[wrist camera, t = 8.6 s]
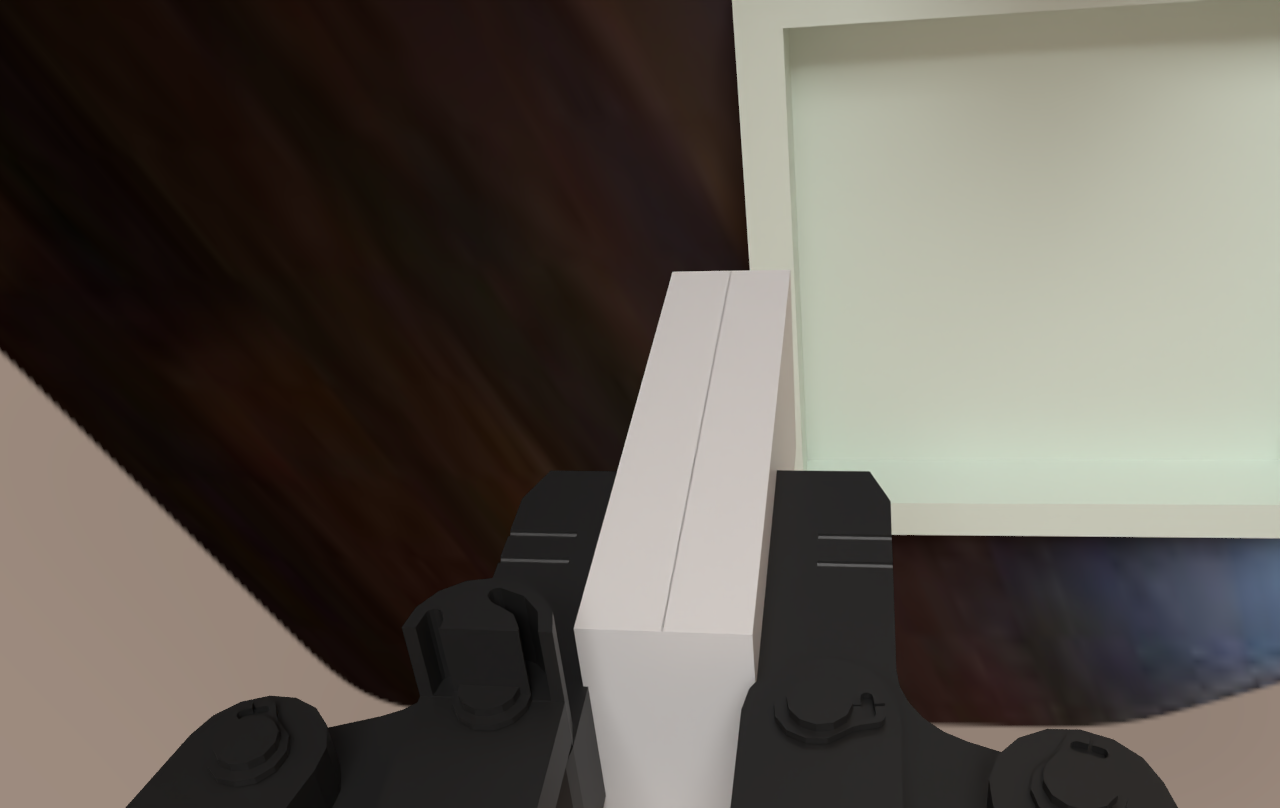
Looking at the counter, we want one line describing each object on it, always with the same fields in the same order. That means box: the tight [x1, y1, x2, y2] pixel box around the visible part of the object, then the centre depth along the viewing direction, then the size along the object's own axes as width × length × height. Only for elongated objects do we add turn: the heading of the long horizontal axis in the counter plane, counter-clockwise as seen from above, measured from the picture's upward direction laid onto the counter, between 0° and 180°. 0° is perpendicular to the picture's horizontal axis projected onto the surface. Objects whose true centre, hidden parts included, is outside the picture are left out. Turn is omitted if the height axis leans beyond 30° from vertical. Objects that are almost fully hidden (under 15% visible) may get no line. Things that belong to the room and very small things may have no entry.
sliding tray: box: [732, 0, 1280, 538], centre depth 28 cm, size 14×14×2 cm
